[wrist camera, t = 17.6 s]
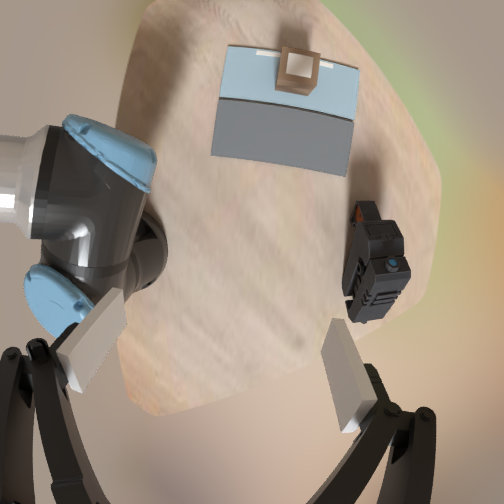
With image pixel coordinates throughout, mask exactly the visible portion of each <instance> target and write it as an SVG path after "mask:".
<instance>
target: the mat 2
mask: <svg viewBox="0 0 504 504" xmlns="http://www.w3.org/2000/svg"><path fill="white" fill-rule="evenodd" d="M353 128H354V122H350V121H346V120H342V119H338V118H334V117H330V116H326V115H322V114H317V113H312V112H307V111H302V110H297V109H292V108H286V107H280V106H274V105H267V104H260V103H252V102H243V101H233V100H221V99H219V101H218V108H217V114H216V121H215V128H214V135H213V142H212V150H211V156H220V157H229V158H238V159H246V160H253V161H261V162H267V163H274V164H280V165H286V166H292V167H298V168H304V169H309V170H314V171H319V172H324V173H329V174H334V175H339V176H343V177H346V172H347V166H348V160H349V154H350V148H351V141H352V135H353Z"/></svg>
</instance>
